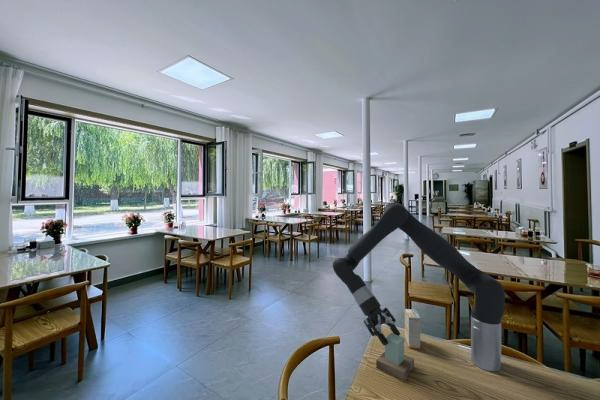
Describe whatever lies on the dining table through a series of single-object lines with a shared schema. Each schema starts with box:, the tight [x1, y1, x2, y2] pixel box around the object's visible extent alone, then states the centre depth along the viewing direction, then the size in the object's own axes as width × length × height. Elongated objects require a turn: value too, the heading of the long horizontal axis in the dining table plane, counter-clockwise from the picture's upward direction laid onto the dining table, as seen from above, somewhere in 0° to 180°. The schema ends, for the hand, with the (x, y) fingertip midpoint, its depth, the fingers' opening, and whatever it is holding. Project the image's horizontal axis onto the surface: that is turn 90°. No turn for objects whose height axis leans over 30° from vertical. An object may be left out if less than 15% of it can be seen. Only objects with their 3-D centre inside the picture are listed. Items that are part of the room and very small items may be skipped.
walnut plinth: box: [375, 351, 415, 382], centre depth 95 cm, size 10×10×3 cm
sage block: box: [384, 332, 405, 366], centre depth 95 cm, size 5×5×8 cm
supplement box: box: [404, 308, 421, 350], centre depth 110 cm, size 8×5×13 cm, turn 168°
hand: (392, 340), depth 95 cm, fingers open, 8 cm apart
